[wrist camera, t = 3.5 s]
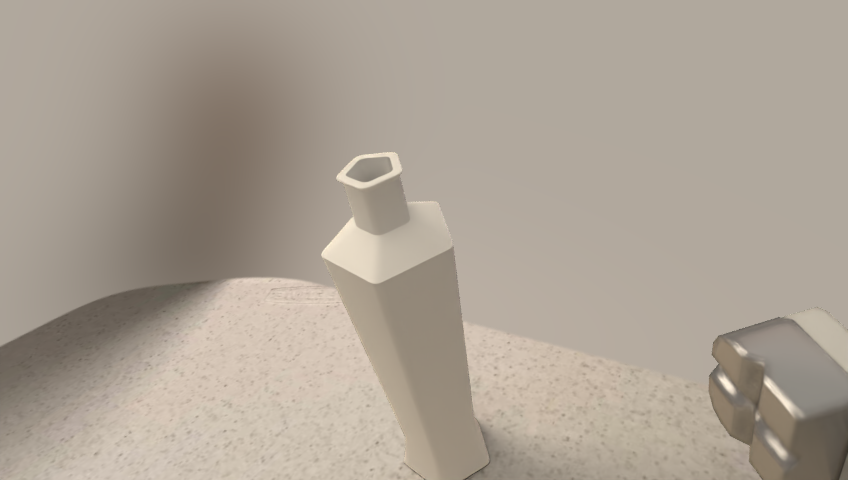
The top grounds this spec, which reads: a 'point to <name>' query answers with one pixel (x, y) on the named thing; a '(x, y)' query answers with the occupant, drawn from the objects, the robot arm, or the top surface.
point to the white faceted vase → (408, 315)
